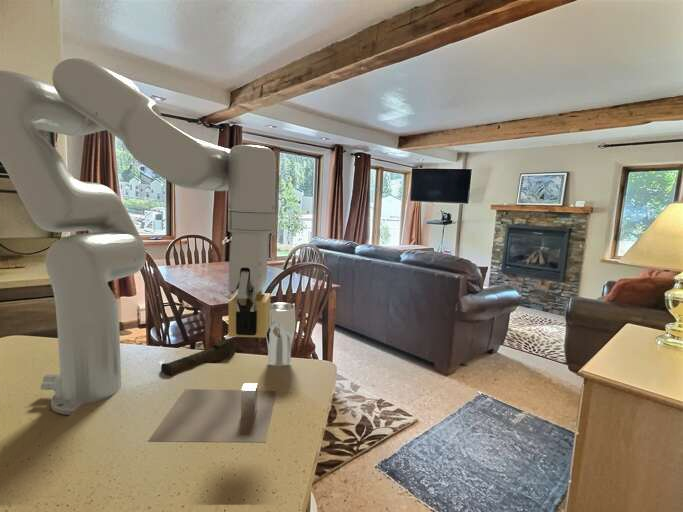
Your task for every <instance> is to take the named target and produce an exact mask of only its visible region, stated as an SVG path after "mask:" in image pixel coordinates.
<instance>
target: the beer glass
mask: <svg viewBox="0 0 683 512" xmlns="http://www.w3.org/2000/svg"><path fill="white" fill-rule="evenodd" d="M295 330H296V307H295V305H294V304H292V303H290V302H272V303H271V306H270V327H269V329H268V332H267V334H266V337H265V339H266V343H267V360H266V365H267V366H268V365H270V366H272V367H286V366H292V365H293V363H292V359H291V358H292V357H291V356H292V355H291V353H292V352H291V351H292V345H293V340H294V336H295Z"/></svg>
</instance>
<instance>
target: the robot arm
mask: <svg viewBox="0 0 683 512" xmlns="http://www.w3.org/2000/svg"><path fill="white" fill-rule="evenodd" d="M51 78H52V79H51V80H52V83H50V82H48V81H45V80H41V79H39V78H37V77H33V76H30V75H27V74H23V73H19V72H15V71H10V70H2V69H1V70H0V163H1V164H2V166H3V168H4V170H5V172H7V175H8V177H9V179H10V181H11V184H13V187H14V188H15V190H16V193H17V195H18V196H19V198H20V200H21V201H22V203H23V205H24V207H25V209H26V211H27V213H28V214H29V216H30V218H31V220H32V221H33V222H34V224H35V225H36V226H37V227H38V228H40V229H42V230H44V231H46V232H52V233H70V232H71V233H72V232H84V231H85V232H86V231H87V233H77V234H70V235H67V236H64V237H62V238H59V239H57V240H56V241H54V242H53V243H52V244H51V245H50V247H49V248H48V249H47V252H46V253H45V269H46V273H47V274H48V278H49V281H50V285H51V289H52V291H53V296H54V304H55V315H56V328H57V330H56V331H57V345H58V359H59V374H56V373H55V374H54V373H51V374H50V373H48V374H45V375H44V376H43V379H42V383H41V385H40V390H41V391H42V390H44V391H49V390H53V392H54V395H53V396H52V398H51V400H50V406H51V409H52V411H54V412H55V413H57V414H61V415H67V416H70V415H71V414H72V413H74V412H75V411H76V410H77V409H78V408H79V407H81V406H82V405H83V404H90V403H95V402H98V401H102V400H105V399H107V398H110V397H111V396H113V395H116V393H118V392H119V391H120V389H121V388H122V368H121V367H122V366H121V365H122V364H121V363H122V362H121V342H120V341H121V339H120V338H121V337H120V336H121V335H120V333H121V332H120V315H119V305H118V304H119V303H118V301H117V298H116V296H115V294H114V292H113V291H112V289H111V287H110V285H109V282H112V281H114V280H115V281H116V280H120V279H122V278H126V277H130V276H133V275H135V274H137V273H138V272H140V271H142V269H143V268H144V266H145V263H146V261H147V250H146V246H145V243H144V241H143V239H142V237H141V235H140V233H139V231H138V229H137V227H136V225H135V223H134V222H133V220H132V218H131V216H130V214H129V212H128V210H127V208H126V205H125V204H124V203H123V201H122V200H121V198H120V196H119V195H118V193H116V192H115V191H114V190H112V189H111V188H110V187H108V186H106V185H104V184H102V183H98V182H90V181H80V180H79V179H76V178H75V177H74V176H73V174H72V173H71V171H70V170H69V169H68V167H67V165H66V163H65V160H64V159H63V157H62V156H61V154H60V153H59V151H58V150H57V149H56V148H55V147H54V145H52V144H51V143H50V142H49V141H48V140H47V139H46V138H45V137H44V136H42V135H41V134H40V133H39V132H38V131H37V130H42V131H46V132H51V133H56V134H60V135H65V136H70V137H71V136H72V137H83V136H87V135H91V134H95V133H99V132H103V131H107V132H109V133H110V134H111V135H113V136H115V137H116V138H117V139H119V140H121V141H122V143H123V145H124V147H125V149H126V150H127V151H128V153H129V154H130V155H131V156H132V157H133V158H134V159H135V160H136V161H137V162H139V163H140V164H141V165H143V166H144V167H146V168H148V169H149V170H151V171H152V172H153V173H155V174H156V175H158V176H159V177H161V178H162V179H164V180H166V181H167V182H170V183H171V184H173V185H175V186H177V187H180V188H185V189H189V190H191V189H192V190H202V191H203V190H204V191H211V192H224V191H227V192H228V193H227V210H228V211H227V231H228V232H229V233H231V238H230V239H231V241H230V248H229V249H230V250H229V261H228V262H229V263H228V264H229V265H228V282H227V283H228V285H227V288H228V289H227V291H228V293H229V294H233V295H234V293H237V292H238V293H237V308H236V334H237V335H255V334H256V328H257V311H255V302H256V294H258V293H264V292H263V288H264V286H265V285H266V283H267V276H268V275H267V273H268V258H269V257H268V254H269V253H268V250H269V249H268V247H269V246H268V245H269V244H268V243H269V240H268V239H269V237H268V235H269V234H274V233H275V225H276V223H275V222H276V221H275V220H276V219H275V217H276V213H275V212H276V181H277V180H276V179H277V178H276V177H277V175H276V174H277V157H276V153H275V152H274V151H273V149H271V148H269V147H267V146H266V147H265V146H261V145H257V144H256V145H255V144H254V145H253V144H239V145H234V146H232V147H231V148H226V147H222V146H219V145H215V144H213V143H210V142H206V141H204V140H201V139H197V138H194V137H192V136H190V135H189V134H187V133H185V132H183V131H182V130H180V129H179V128H178V127H176V126H174V125H173V124H171V123H170V122H168V121H167V120H165V119H164V118H162V113H161V110H160V108H159V105H158V104H157V103H156V102H155V101H154V100H153V99H151V98H150V97H149V96H148V95H145V94H144V93H142V92H141V91H140V89H139V88H138V87H137V86H136V85H135V84H134V83H133V81H132V80H130V79H129V78H127V77H125V76H124V75H121V74H119V73H117V72H115V71H113V70H111V69H108V68H106V67H105V66H102V65H100V64H98V63H95V62H93V61H91V60H87V59H84V58H78V57H77V58H76V57H73V58H67V59H64V60H62V61H60V62H58V63H57V65H55V67H54V68H53V70H52V77H51ZM36 129H37V130H36ZM248 297H251V300H250V298H248Z"/></svg>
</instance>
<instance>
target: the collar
mask: <svg viewBox="0 0 683 512" xmlns="http://www.w3.org/2000/svg"><path fill="white" fill-rule="evenodd" d="M237 293H238V291H236V292H235V294H233V295H232V297H231V298H230V299H229V300H228V321H227V323H228V324H227V325H228V326H227V328H228V329H227V330H228V333H227V334H228V335H227V336H228V337H229V338H230V337H231V338H263V339H264V338H265V339H266V334H267V332H268V329H269V327H270V306H271V300H272V299H271V296H272V293H269V292H266V293H265V292H263V293H258V294H256V302H255V311H257V328H256V334H255V335H237V334H236V308H237ZM248 298H250V300H251V297H248Z"/></svg>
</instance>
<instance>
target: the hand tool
mask: <svg viewBox="0 0 683 512" xmlns="http://www.w3.org/2000/svg"><path fill="white" fill-rule="evenodd" d="M233 353H234V354H235V353H236V345H235V342H234V340H232V339H231V338H225V339H223V340H220V341H216V342H214V343H212V346H211V347H209V348H206V349H204V350H202V351H198V352H196V353H192V354H190V355H188V356H185V357H182V358H178V359H176V360H173V361H171V362H166V363H162V364H161V367H160V370H161V373H162V374H164V375H165V376H169V377H173V376H174V375H176V374H178V373H180V372H184V371H186V370H190V369H192V368H194V367H196V366H198V365H200V364H201V365H202V364H211V363H213V362H214V363H215V362H218V363H219V362H223V361H225V360H227V359H229V358H230V357H231V356H233V355H234V354H233Z"/></svg>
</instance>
